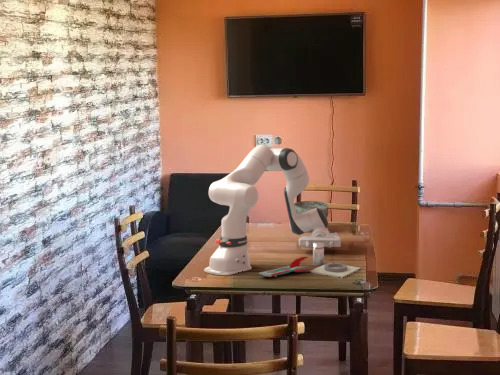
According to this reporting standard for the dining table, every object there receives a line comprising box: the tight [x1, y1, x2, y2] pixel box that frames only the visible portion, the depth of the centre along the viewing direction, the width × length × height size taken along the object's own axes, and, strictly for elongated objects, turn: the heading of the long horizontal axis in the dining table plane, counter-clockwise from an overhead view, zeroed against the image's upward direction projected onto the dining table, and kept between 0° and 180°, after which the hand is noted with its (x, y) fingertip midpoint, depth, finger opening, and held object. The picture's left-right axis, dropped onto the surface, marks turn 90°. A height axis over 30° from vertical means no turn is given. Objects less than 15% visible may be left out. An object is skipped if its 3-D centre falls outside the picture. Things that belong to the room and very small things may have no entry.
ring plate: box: [310, 262, 361, 279], centre depth 321 cm, size 16×16×2 cm
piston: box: [312, 242, 325, 267], centre depth 331 cm, size 5×5×10 cm
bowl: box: [294, 200, 329, 233], centre depth 398 cm, size 20×19×15 cm
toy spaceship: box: [257, 256, 318, 278], centre depth 317 cm, size 27×11×5 cm, turn 128°
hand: (319, 245), depth 343 cm, fingers open, 8 cm apart
